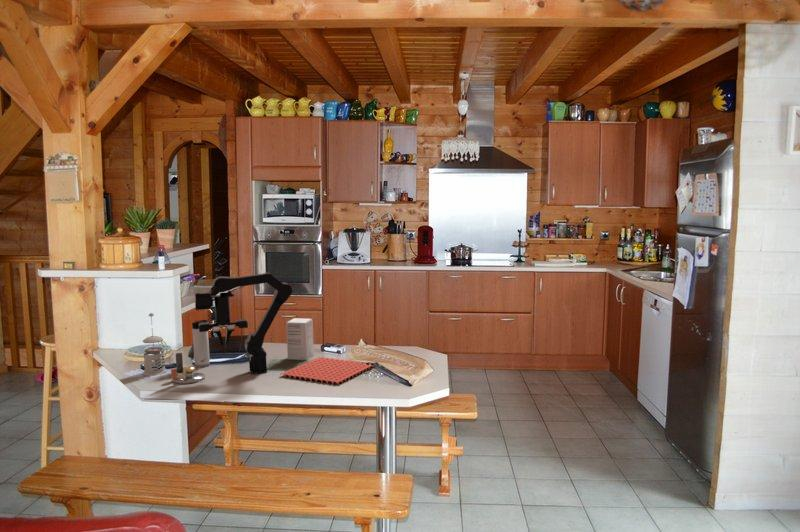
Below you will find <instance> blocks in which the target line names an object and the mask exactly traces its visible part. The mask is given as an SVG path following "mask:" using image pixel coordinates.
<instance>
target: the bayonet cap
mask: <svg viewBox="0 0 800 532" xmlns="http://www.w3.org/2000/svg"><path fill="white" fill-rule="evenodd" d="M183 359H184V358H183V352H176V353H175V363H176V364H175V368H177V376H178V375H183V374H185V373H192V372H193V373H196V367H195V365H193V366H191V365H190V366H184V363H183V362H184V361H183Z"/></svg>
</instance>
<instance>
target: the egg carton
mask: <svg viewBox="0 0 800 532" xmlns="http://www.w3.org/2000/svg"><path fill="white" fill-rule="evenodd" d="M362 362H363V361H358V362H357V361H354V360H348V359H346V360H345V359H343V358H342V359H339V358H335V359H334V357H331V358H329V357H324V356H319V357H317V358H315V359H312V360H310V361H307V362H306V363H303V364H300V365H299V366H296V367H293V368H292V369H288V370H285V371H284V372H280V376H281V375H283V377H285V378H287V377H286V376H288V378H289V379H291V377H293V378H294V380H296V379H297V377H298V378H299V381H301V380H302V378H303V379H304V381H306V382H307V379H308V380H310V382H312V381H313V380H314V381H315V383H318V380H319V382H320V384H323V382H324V383H325V382H326V384H327V385H328V384H329V383H331V386H332V385H334V383H335V384H337V386H340V385H339V384H340V382H341V385H343V382H345V383H347V379H348V381H350V379H354V375H355V377H357V376H358V375H359V376H360V374H361V373H362V374H364V371H365V372H367V369H368V370H369V369H370V370H371V367H372V365H371V364H372V363H369V365H367V364H366V363H367V362H364V363H362ZM362 364H363V365H362Z"/></svg>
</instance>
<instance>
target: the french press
mask: <svg viewBox="0 0 800 532" xmlns="http://www.w3.org/2000/svg"><path fill="white" fill-rule="evenodd" d="M154 316H155V315H154V313H152V312H151V313H149V314H148V317H150V321H151V323H150V324H153V317H154ZM151 334H152V335H150V336H148V337H145V338H144V339H143V340H142V343H143V344H152V347H148V348H145V349H144V353H143V362H144V365H143V366H144V371H143V372H142V375H143V376H147V377H148V376H150V377H152V376H158V375H157V374H160V375H163V374H165V373H164V372H165V371H166V370H167V369H166V366H165V365H166V364H165V363H166V362H165V357H166V356H167V354H168V353H167V352H168V346H167V342H165V341H164V338H163V337H161V336H158V335H154V333H153V329H151ZM157 343H158V345H162V346H163V347H161V346H159V347H158V346H157V347H156V346H155V347H154V344H157ZM164 344H165V345H164ZM165 347H166V351H165ZM158 365H160V366H159V367H157V368H152V367H156V366H158ZM162 365H163V367H162ZM160 367H162V368H160ZM158 368H160V369H158ZM165 369H166V370H165ZM162 373H163V374H162Z"/></svg>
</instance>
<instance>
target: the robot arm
mask: <svg viewBox="0 0 800 532" xmlns="http://www.w3.org/2000/svg"><path fill="white" fill-rule="evenodd" d="M266 283H267V284H268V285H269V286H271V288H273V289H274V292H273V296H272V300H271V302H270V304H269V305H268V308H267V310H266V311H265V313H264V315H263V316H262V319H261V321H260V322H259V324H258V326H257V328H256V330H254V332H253V333H251V332H249V333H248V335H247V337H246V338H245V340H244V342H245V343H244V348H245V350H246V353H247V354H249V355H251V356H250V359H249V360H248V361H249V362H248V363H249V364H248V365H249V366H248V367H249V372H250V374H251V373H252V374H261V373H262V374H263V373H267V372H268V367H267V365H268V364H267V355H268V354H267V352H266V350H265V348H264V347H263V345H264V341H265V336H266V334H267V333H268V330H269V329H270V327H271V325H272V324H273V321H274V320H275V318H276V316H277V314H278V313H279V311H280V309H281V307H282V306H283V305H284V304H285V303H286V302H287V301H288V300H289V298H291V296H292V293H293V288H292V286H291V285H289V284H288V282H282V281H280V280H278V279H277V278H276V277H275V276H274V275H273V274H271V273H270V272H264V273H259V274H258V273H257V274H251V275H250V274H249V275H244V276H243V275H242V276H222V275H219V276H217V277H216V278H214V280H213V282H212V284H213V286H212V287H211V288H210V289H209V291H208V292H195V293H194V296H195V297H194V298H195V300H194V307H195V311H203V310H211V308H212V307H214V312H210V321H214V323H210V321H208V322H202V323H199V332H206V331H208V332H209V330H211V329H212V330H211V331H212V333H213V334H216V336H217V338H218V340H219V343H220V344H221V347H224V341H223V336H222V331H221V328H222V329H223V328H225V347H228V344H229V340H230V338H231V335H232V332H235V331H236V330H235V327H237V328H239V329H247V328H249V323H248V320H247V319H246V318H238V319H236V321H231V307H230V305H231V304H230V297H235V294H234V293H233V292H232V290H233V289H235V288H241V287H247V286H253V285H261V284H266Z"/></svg>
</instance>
